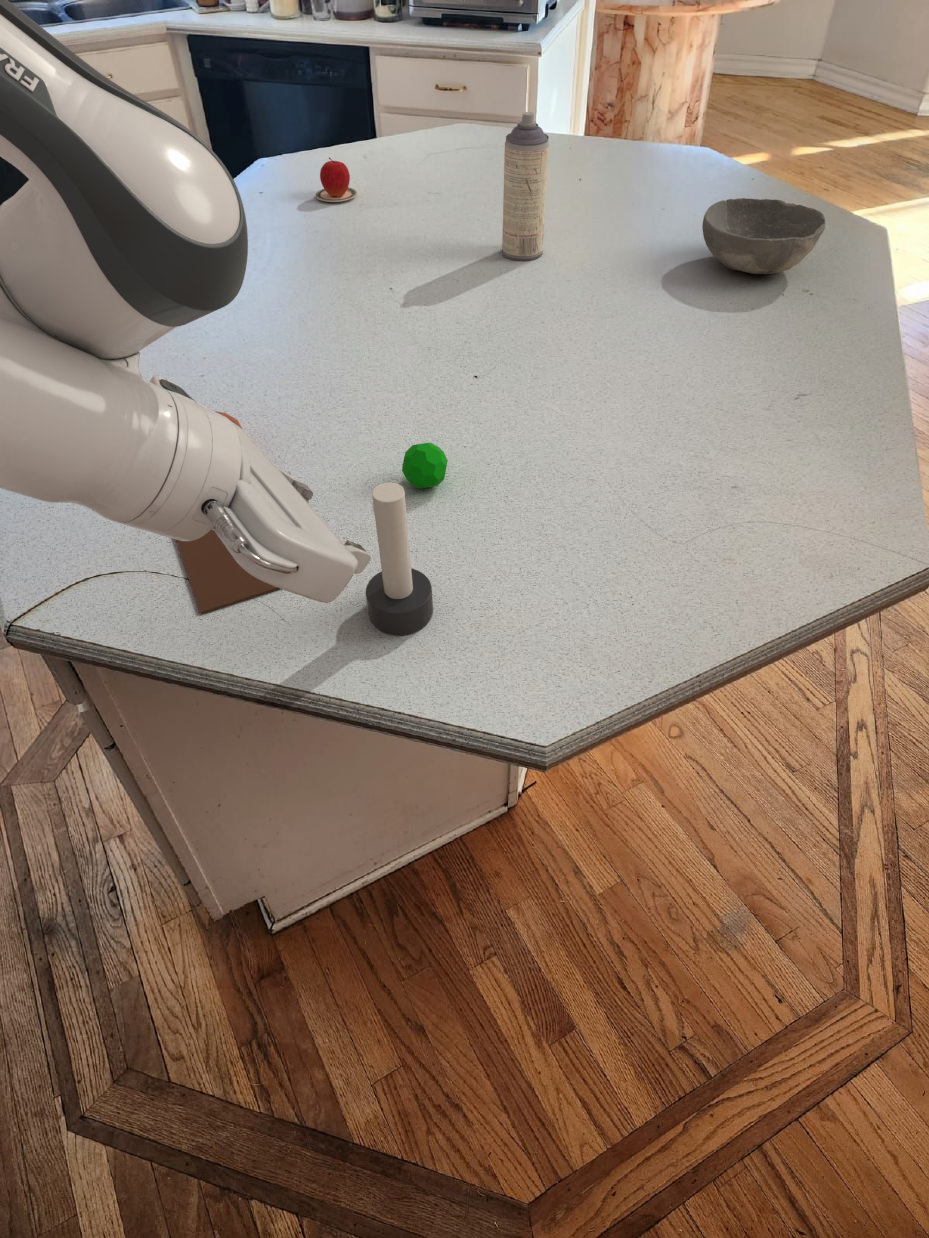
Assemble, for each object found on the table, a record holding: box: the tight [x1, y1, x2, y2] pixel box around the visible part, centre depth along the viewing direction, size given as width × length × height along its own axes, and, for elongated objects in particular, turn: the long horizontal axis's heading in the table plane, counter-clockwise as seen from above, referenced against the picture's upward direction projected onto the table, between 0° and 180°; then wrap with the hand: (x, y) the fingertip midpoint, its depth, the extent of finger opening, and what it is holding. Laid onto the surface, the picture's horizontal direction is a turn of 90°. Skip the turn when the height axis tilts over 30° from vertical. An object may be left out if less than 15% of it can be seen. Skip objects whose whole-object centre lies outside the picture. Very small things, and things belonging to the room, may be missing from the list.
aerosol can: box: [501, 111, 550, 262], centre depth 120 cm, size 7×7×20 cm
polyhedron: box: [401, 442, 448, 490], centre depth 82 cm, size 5×5×5 cm
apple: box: [315, 157, 358, 203], centre depth 144 cm, size 8×8×6 cm
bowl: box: [701, 197, 826, 275], centre depth 119 cm, size 18×18×8 cm
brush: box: [365, 481, 434, 636], centre depth 66 cm, size 6×6×14 cm
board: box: [175, 530, 281, 615], centre depth 77 cm, size 14×14×1 cm
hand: (332, 527), depth 60 cm, fingers open, 8 cm apart
